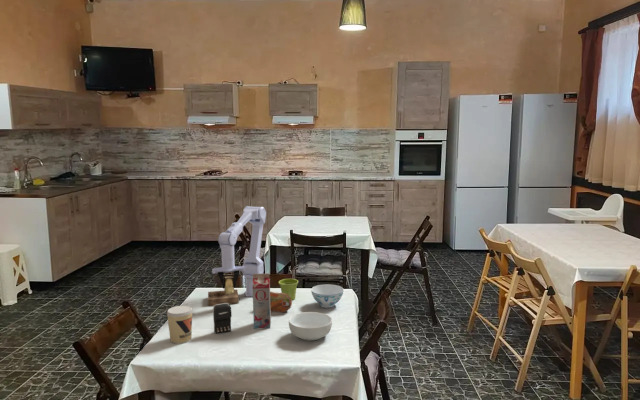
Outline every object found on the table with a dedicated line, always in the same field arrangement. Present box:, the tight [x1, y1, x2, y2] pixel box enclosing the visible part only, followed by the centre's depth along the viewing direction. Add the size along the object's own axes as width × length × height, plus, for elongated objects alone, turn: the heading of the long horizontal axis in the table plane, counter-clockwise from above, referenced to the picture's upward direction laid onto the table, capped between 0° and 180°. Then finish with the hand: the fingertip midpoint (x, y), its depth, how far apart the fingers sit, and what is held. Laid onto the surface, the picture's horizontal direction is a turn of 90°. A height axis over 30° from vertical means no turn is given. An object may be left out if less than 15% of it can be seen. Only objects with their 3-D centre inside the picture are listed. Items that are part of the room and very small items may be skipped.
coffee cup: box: [166, 305, 193, 345], centre depth 176 cm, size 9×9×12 cm
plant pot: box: [278, 278, 299, 301], centre depth 222 cm, size 9×9×9 cm
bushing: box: [223, 276, 235, 294], centre depth 211 cm, size 4×4×7 cm
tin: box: [270, 291, 293, 313], centre depth 207 cm, size 15×3×8 cm, turn 68°
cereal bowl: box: [288, 311, 333, 342], centre depth 178 cm, size 17×17×7 cm
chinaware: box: [310, 283, 345, 309], centre depth 213 cm, size 15×15×8 cm
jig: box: [207, 289, 240, 307], centre depth 221 cm, size 14×12×3 cm
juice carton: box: [252, 273, 272, 330], centre depth 189 cm, size 7×7×22 cm
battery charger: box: [212, 303, 233, 335], centre depth 183 cm, size 7×4×11 cm, turn 115°
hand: (229, 287), depth 211 cm, fingers closed on bushing, 4 cm apart
